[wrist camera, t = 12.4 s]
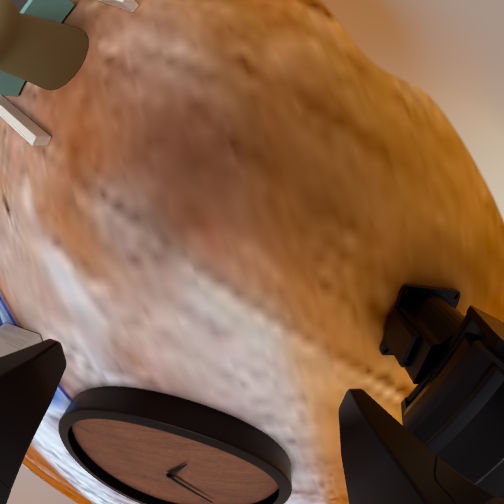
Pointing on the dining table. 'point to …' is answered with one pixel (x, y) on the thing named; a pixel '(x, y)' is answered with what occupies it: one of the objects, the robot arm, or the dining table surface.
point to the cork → (39, 48)
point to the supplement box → (16, 339)
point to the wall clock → (172, 449)
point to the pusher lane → (21, 121)
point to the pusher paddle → (44, 6)
